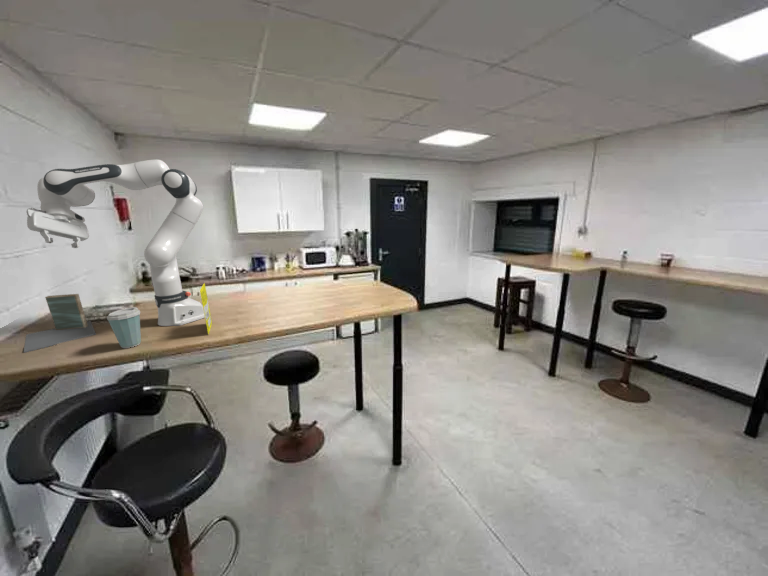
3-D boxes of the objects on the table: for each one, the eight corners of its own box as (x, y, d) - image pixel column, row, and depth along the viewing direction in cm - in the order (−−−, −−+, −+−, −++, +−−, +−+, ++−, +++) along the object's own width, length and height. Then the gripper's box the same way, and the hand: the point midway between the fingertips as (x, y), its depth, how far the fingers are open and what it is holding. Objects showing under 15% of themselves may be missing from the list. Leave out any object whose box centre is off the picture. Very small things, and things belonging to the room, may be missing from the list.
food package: (210, 323, 154) (203, 282, 148) (213, 323, 154) (206, 282, 149) (207, 335, 140) (198, 290, 135) (209, 334, 140) (201, 290, 135)
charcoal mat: (90, 321, 161) (90, 320, 161) (96, 335, 144) (96, 334, 143) (26, 335, 146) (26, 334, 146) (24, 352, 129) (23, 351, 128)
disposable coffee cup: (110, 352, 126) (99, 316, 122) (121, 341, 136) (112, 308, 132) (142, 348, 129) (133, 312, 125) (151, 337, 139) (143, 304, 135)
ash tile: (59, 328, 152) (48, 295, 148) (87, 325, 154) (78, 293, 150) (55, 330, 150) (44, 297, 146) (84, 327, 152) (74, 295, 148)
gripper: (32, 203, 125) (38, 236, 123) (88, 219, 145) (94, 247, 143) (19, 209, 126) (25, 242, 124) (76, 224, 146) (82, 252, 144)
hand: (62, 245), depth 134 cm, fingers open, 8 cm apart
